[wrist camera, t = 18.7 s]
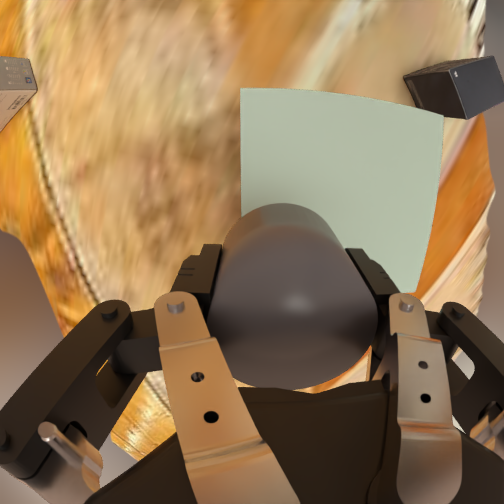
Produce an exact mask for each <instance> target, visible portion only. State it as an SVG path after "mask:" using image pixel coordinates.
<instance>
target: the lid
mask: <svg viewBox="0 0 504 504" xmlns="http://www.w3.org/2000/svg"><path fill="white" fill-rule="evenodd" d="M443 124H444V116H443V115H440V114H436V113H433V112H429V111H426V110H422V109H418V108H414V107H410V106H406V105H402V104H398V103H393V102H388V101H383V100H378V99H373V98H367V97H361V96H355V95H348V94H340V93H332V92H323V91H313V90H300V89H282V88H240V141H241V218H242V217H243V216H244V215H245V214H247V213H249V212H250V211H252V210H254V209H256V208H259V207H261V206H265V205H268V204H275V203H290V204H296V205H300V206H303V207H306V208H308V209H310V210H312V211H314V212H315V213H317V214H318V215H319V216H321V217H322V218H323V219H324V220H325V221H326V222H327V223H328V225H329V226H330V228H331V229H332V231H333V232H334V234H335V235H336V237H337V238H338V240H339V241H340V243H341V245H342V246H343V248H344V249H345V248H362V249H363V250H364V251H365V253H366V254H367V255H368V257H369V258H370V259H372V260H374V261H376V262H377V263H378V264H380V265H381V266H382V267H383V268H384V270H385V271H386V273H387V274H388V275H389V277H390V279H392V281H393V282H394V283H395V285H396V286H397V288H398V289H399V290H400V292H401V293H408V292H415V291H416V288H417V284H418V281H419V277H420V274H421V270H422V266H423V263H424V259H425V255H426V250H427V246H428V242H429V237H430V233H431V228H432V223H433V217H434V212H435V206H436V199H437V193H438V186H439V178H440V169H441V158H442V145H443Z"/></svg>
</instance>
